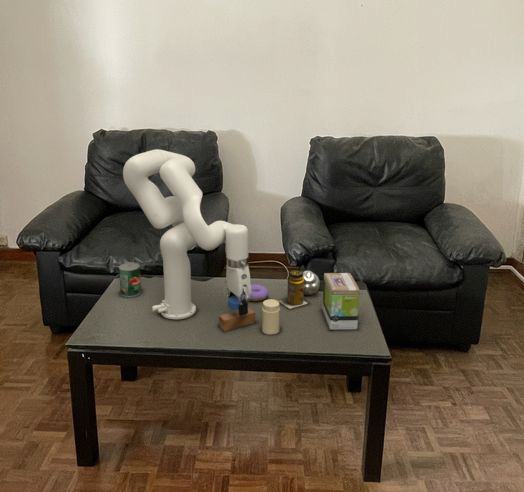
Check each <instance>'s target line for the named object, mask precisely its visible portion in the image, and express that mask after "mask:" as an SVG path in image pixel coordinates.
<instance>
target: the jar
mask: <svg viewBox="0 0 524 492" xmlns="http://www.w3.org/2000/svg"><path fill="white" fill-rule="evenodd" d="M280 312H281V307H280V302H279V300H276V299H273V298H272V299H271V298H270V299H269V298H268V299H264V300H263V302H262V307H261V331H262V333H263V334H266V335H275V334H278V333H279V332H280V328H281V327H280V325H281V321H280V320H281V319H280V318H281V313H280Z"/></svg>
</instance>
